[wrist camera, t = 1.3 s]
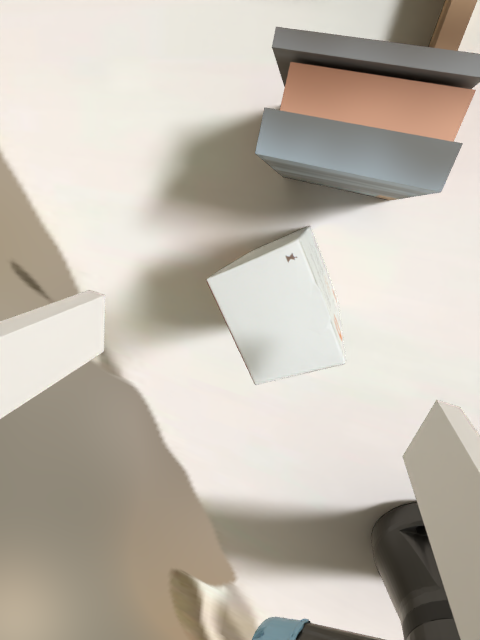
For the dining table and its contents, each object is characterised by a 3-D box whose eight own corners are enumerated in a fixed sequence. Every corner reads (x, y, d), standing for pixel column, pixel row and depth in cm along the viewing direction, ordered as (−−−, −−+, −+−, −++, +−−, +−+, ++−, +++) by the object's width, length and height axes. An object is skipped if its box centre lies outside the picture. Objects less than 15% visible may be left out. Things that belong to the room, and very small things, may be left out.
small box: (250, 251, 30) (202, 277, 18) (311, 224, 28) (301, 234, 16) (280, 322, 32) (254, 388, 20) (339, 302, 29) (350, 364, 17)
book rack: (390, 200, 25) (441, 192, 14) (272, 174, 27) (237, 149, 16) (519, -133, 18) (826, -673, 7) (345, -139, 19) (371, -581, 9)
